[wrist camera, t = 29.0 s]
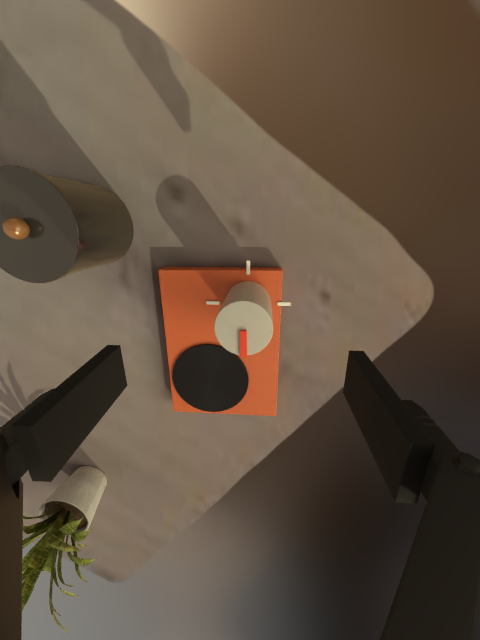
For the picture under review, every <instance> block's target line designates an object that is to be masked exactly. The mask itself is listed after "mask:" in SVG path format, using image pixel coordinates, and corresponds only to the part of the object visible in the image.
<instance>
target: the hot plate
mask: <svg viewBox="0 0 480 640" xmlns="http://www.w3.org/2000/svg"><path fill="white" fill-rule="evenodd" d="M158 271H159V281H160V290H161V299H162V308H163V317H164V327H165V336H166V345H167V354H168V364H169V373H170V382H171V391H172V400H173V410H174V411H183V412H204V413H226V414H247V415H269V416H276V407H277V385H278V362H279V340H280V318H281V306H291V302H281V296H282V274H283V271H282V268H281V267H250V260H247V261H246V267H164V268H161V269H159V270H158ZM244 281H252V282H256V283H258V284H260V285H262V286H263V287H264V288H265V289H266V290H267V292H268V294H269V296H270V300H271V310H272V320H273V334H272V338H271V340H270V342H269V343H268V345H267V346H266V347H265V348H264V349H262V350H261V351H259V352H258V353H255V354H252V355H247V357H240V355H237V354H236V355H237V356H238V357H239V358H240V359H241V360H242V361H243V363H244V365H245V366H246V369H247V371H248V376H249V384H248V389H247V392H246V394H245V396H244V398H243V399H242V400H241V401H240V402H239V403H238V404H237V405H235V406H234V407H232V408H230V409H228V410H224V411H220V412H208V411H203V410H199V409H197V408H194V407H192V406H191V405H189V404H188V403H186V402H185V401H184V400H183V399H182V398H181V397H180V396H179V394H178V393H177V391H176V389H175V387H174V384H173V379H172V372H173V367H174V364H175V362H176V360H177V359H178V357H179V356H180V355H181V354H182V353H183V352H184V351H186V350H187V349H189V348H191V347H193V346H196V345H201V344H215V345H219V346H222V345H221V344H220V343H219V341H218V340H217V338H216V335H215V331H214V324H215V319H216V317H217V315H218V313H219V311H220V308H221V306H222V304H223V302H224V300H225V298H226V296H227V294H228V292H229V291H230V289H231V288H232V287H233V286H235V285H236V284H238V283H240V282H244ZM222 347H223V346H222Z"/></svg>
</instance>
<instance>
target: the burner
mask: <svg viewBox="0 0 480 640" xmlns="http://www.w3.org/2000/svg"><path fill="white" fill-rule="evenodd" d="M172 379H173V384H174V387H175V389H176V391H177V393H178V394H179V396H180V397H181V398H182V399H183V400H184V401H185V402H186V403H188V404H189V405H191V406H192V407H194V408H197V409H199V410H203V411H208V412H220V411H224V410H228V409H230V408H232V407H234V406H235V405H237V404H238V403H239V402H240V401H241V400H242V399H243V398H244V396H245V394H246V392H247V389H248V384H249V376H248V371H247V369H246V366H245V365H244V363H243V361H242V360H241V359H240V358H239V357H238V356H237V355H236V354H234V353H231V352H229V351H228V350H226V349H225V348H224V347H222V346H219V345H215V344H201V345H196V346H193V347H191V348H189V349H187V350H186V351H184V352H183V353H182V354H181V355H180V356H179V357H178V359H177V360H176V362H175V364H174V367H173V372H172Z"/></svg>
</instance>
